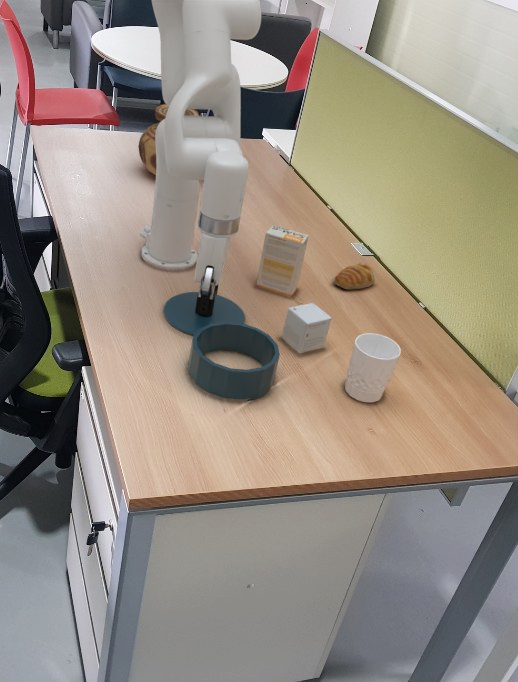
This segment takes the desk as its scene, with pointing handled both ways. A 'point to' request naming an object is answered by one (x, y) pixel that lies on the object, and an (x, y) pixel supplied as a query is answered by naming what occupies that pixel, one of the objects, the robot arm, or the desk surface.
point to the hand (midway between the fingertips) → (206, 303)
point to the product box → (306, 327)
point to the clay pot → (148, 138)
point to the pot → (229, 379)
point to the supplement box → (282, 260)
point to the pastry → (355, 277)
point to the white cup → (371, 366)
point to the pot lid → (187, 321)
